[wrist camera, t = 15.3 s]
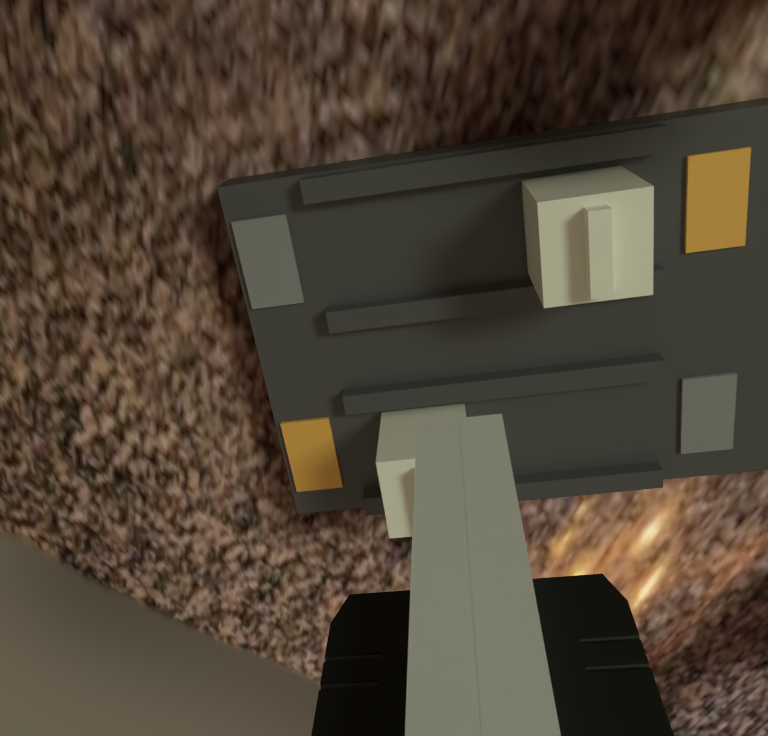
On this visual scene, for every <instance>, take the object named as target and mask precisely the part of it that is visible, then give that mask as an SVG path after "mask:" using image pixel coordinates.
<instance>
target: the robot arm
mask: <svg viewBox="0 0 768 736" xmlns="http://www.w3.org/2000/svg"><path fill="white" fill-rule="evenodd" d="M320 684H321V690H319V694H318V700H317V707H316V712H315V718H314V724H313V729H312V736H674V735H673V732H672V729H671V726H670V723H669V720H668V717H667V715H666V712H665V709H664V706H663V703H662V700H661V697H660V694H659V691H658V688H657V685H656V683H655V680H654V677H653V674H652V671H651V669H650V668H649V664H648V659H647V656H646V653H645V650H644V648H643V645H642V642H641V640H640V639H639V633H638V630H637V627H636V624H635V621H634V618H633V615H632V613H631V610H630V607H629V604H628V601H627V600H626V599H625V598H624V596H623V595H622V594H621V593H620V592H619V591H618V590H617V589H616V588H615V587H614V586H613V585H612V584H611V583H610V582H609V581H608V579H607V578H606V577H605V576H604V575H603V574H593V575H579V576H566V577H552V578H539V579H532V575H531V570H530V564H529V559H528V553H527V548H526V542H525V537H524V531H523V526H522V520H521V515H520V509H519V504H518V499H517V493H516V488H515V482H514V477H513V471H512V466H511V460H510V455H509V449H508V444H507V439H506V433H505V428H504V422H503V417H502V414H493V415H483V416H473V417H463V418H454V419H444V420H434V421H424V422H417V430H416V456H415V482H414V508H413V534H412V560H411V586H410V590H406V591H393V592H379V593H365V594H352V595H349V596H348V598H347V599H346V601H345V602H344V604H343V605H342V607H341V608H340V610H339V611H338V613H337V614H336V616H335V617H334V619H333V620H332V622H331V624H330V630H329V636H328V642H327V647H326V653H325V662H324V665H323V671H322V677H321V683H320Z"/></svg>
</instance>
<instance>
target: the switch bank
mask: <svg viewBox="0 0 768 736" xmlns="http://www.w3.org/2000/svg"><path fill="white" fill-rule="evenodd" d="M616 166H622V167H624V168H625V169H627V170H629V171H630V172H632V173H633V174H635V175H637V176H638V177H640V178H642V179H643V180H645V181H646V182H648V183H650V184H651V185H653V186H654V245H653V295H648V296H640V297H631V298H623V299H615V300H607V301H599V302H591V303H583V304H575V305H567V306H559V307H550V308H543V305H542V303H541V301H540V299H539V296H538V294H537V292H536V290H535V288H534V285H533V283H532V281H531V279H530V276H529V274H528V267H527V253H526V239H525V225H524V211H523V196H522V182H521V180H525V179H532V178H539V177H546V176H553V175H560V174H567V173H574V172H581V171H588V170H595V169H602V168H609V167H616ZM217 190H218V194H219V198H220V202H221V206H222V210H223V214H224V218H225V222H226V226H227V230H228V234H229V238H230V242H231V247H232V251H233V255H234V259H235V263H236V267H237V271H238V275H239V279H240V283H241V287H242V291H243V295H244V299H245V303H246V307H247V311H248V315H249V319H250V323H251V327H252V331H253V335H254V340H255V344H256V348H257V352H258V356H259V360H260V364H261V368H262V372H263V376H264V380H265V384H266V388H267V392H268V396H269V400H270V404H271V408H272V412H273V416H274V420H275V424H276V428H277V433H278V437H279V441H280V445H281V449H282V453H283V457H284V461H285V465H286V469H287V473H288V477H289V481H290V485H291V489H292V493H293V497H294V501H295V505H296V509H297V513H298V514H303V513H314V512H324V511H335V510H345V509H356V508H364V509H365V514H366V515H374V514H385V510H384V505H383V500H382V494H381V489H380V483H379V478H378V473H377V467H376V456H377V447H378V439H379V430H380V422H381V413H382V412H386V411H395V410H405V409H414V408H423V407H432V406H441V405H450V404H459V403H465V410H466V417H473V416H483V415H493V414H502V417H503V422H504V428H505V433H506V439H507V444H508V449H509V455H510V460H511V466H512V471H513V477H514V482H515V488H516V493H517V499H518V501H524V500H534V499H545V498H556V497H566V496H577V495H588V494H598V493H609V492H620V491H630V490H641V489H652V488H662V487H663V479H672V478H683V477H693V476H704V475H714V474H725V473H735V472H746V471H756V470H767V469H768V98H763V99H756V100H749V101H743V102H736V103H730V104H723V105H716V106H710V107H703V108H696V109H690V110H683V111H677V112H670V113H663V114H657V115H650V116H644V117H637V118H630V119H624V120H617V121H611V122H604V123H597V124H591V125H584V126H577V127H571V128H564V129H558V130H551V131H544V132H538V133H531V134H525V135H518V136H511V137H505V138H498V139H491V140H485V141H478V142H472V143H465V144H458V145H452V146H445V147H439V148H432V149H425V150H419V151H412V152H406V153H399V154H392V155H386V156H379V157H372V158H366V159H359V160H353V161H346V162H339V163H333V164H326V165H320V166H313V167H306V168H300V169H293V170H287V171H280V172H273V173H267V174H260V175H253V176H247V177H240V178H234V179H228V180H227V181H226V182H224V183H223V184H221V185H220V186H218V187H217Z"/></svg>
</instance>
